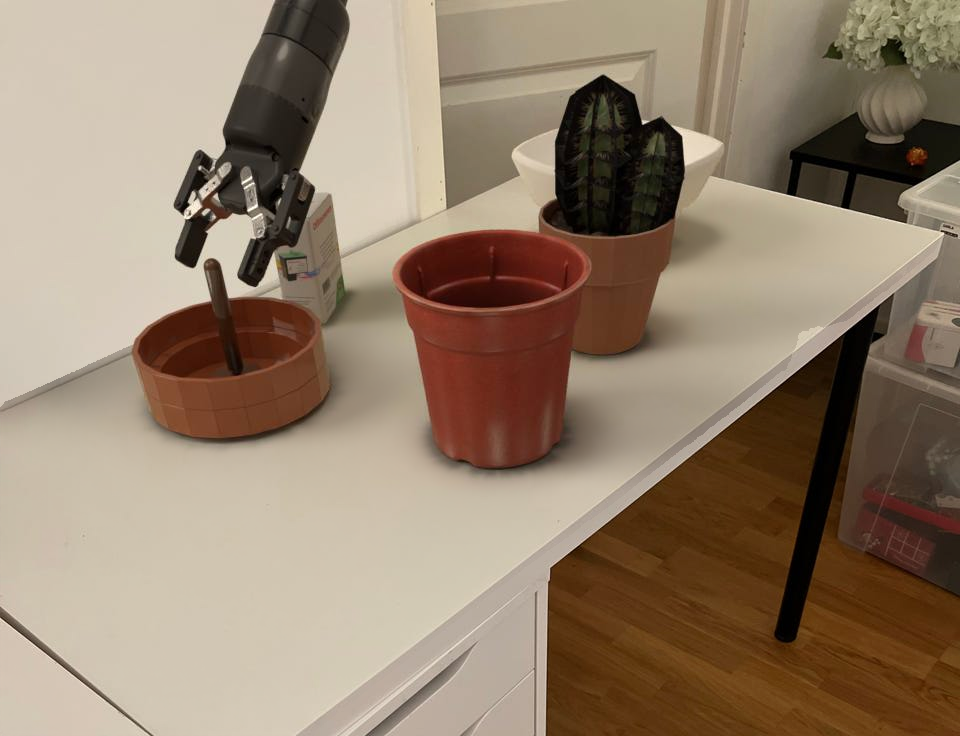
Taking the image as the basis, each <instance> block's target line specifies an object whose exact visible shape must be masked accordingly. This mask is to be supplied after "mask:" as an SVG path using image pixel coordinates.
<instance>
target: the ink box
mask: <svg viewBox="0 0 960 736" xmlns="http://www.w3.org/2000/svg"><path fill="white" fill-rule="evenodd" d="M334 209H335V208H334V202H333V195H332V193H329V192H315V193H314V196H313V199H312V202H311V205H310V208H309V211H308V214H307V216H306V219H305V222H304V225H303V228H302V231H301V234H300V237H299V240H298V243H297V245H296V246H295V247H293V248H290V247H288V246H287V245H286V246H281V247H280V248H279V249H278V250H275V251H274V252H273V255H274V259H275V264H276V270H277V276H278V281H279V285H280V291H281V296H282V300H287V301H292V302H295V303H298V304H300V305H302V306H304V307H306V308H308V309H310V310H312V312H313V313H314V314H315V315H316V316H317V317H318V318H319V319H320V321H321V325H322V324H323V325H324V324H326V323H328V322H327V321H328V320H329V319H330V317H331V316H332V314H333V312H334V311H335V309H336V308H337V307H338V305H339V304H340V302H341V300H342V299H343V297H344V296H345V294H346V287H345V281H344V274H343V266H342V260H341V259H342V258H341V254H340V253H341V252H340V245H339V237H338V231H337V223H336V215H335V210H334ZM290 222H291V218H290V217H289V220H288V223H287V226H286V228H287V229H288V228H289V225H290Z"/></svg>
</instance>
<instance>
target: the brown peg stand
mask: <svg viewBox="0 0 960 736" xmlns="http://www.w3.org/2000/svg"><path fill="white" fill-rule="evenodd" d="M202 268H203V271H204V272H203V273H204V276H205V280H206V284H207V289H208V292H209V296H210V301H212V305H213V310H214V314H215V318H216V322H217V326H218V331H219V335H220V339H221V343H222V347H223V352H224V356H225V360H226V364H227V365H225V366H222V367H220V368H218V369H217V370H216V371H214V372H213V374H212V376H211V379H212V378H221V377H231V376H239V375H242V374H246V373H250V372H254V371H258V370H262V367H261V366H259V365H257V364H255V363H250V362H243V361H242V357H241V352H240V348H239V343H238V339H237V335H236V330H235V326H234V321H233V317H232V312H231V308H230V304H229V299H228V298H229V296H228V291H227V286H226V282H225V277H224V274H223V268H222V265H221V263H220V261H219V260H218V259H216V258H214V257H210V258H207V259H206V260H205V261H204V262H203V267H202Z"/></svg>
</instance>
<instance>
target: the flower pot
mask: <svg viewBox="0 0 960 736" xmlns="http://www.w3.org/2000/svg"><path fill="white" fill-rule="evenodd" d="M590 272H591V261H590V259H589V258H588V256H587V255H586V254H585V253H584V251H582V250H581V249H580V248H579V247H577V246H576V245H574V244H572V243H570V242H568V241H566V240H563V239H560V238H558V237H554V236H551V235H547V234H542V233H539V232H537V231H536V232H535V231H531V230H521V229H505V228H503V229H479V230H469V231H463V232H458V233H453V234H448V235H444V236H441V237H437V238H434V239H431V240H428V241H425V242H422V243H421V244H419V245H416V246H415V247H412V248H411V249H410V250H408V251H407V252H405V253H404V254H402V256H401V257H399V259H398V260H397V261H396V262H395V264H394V266H393V269H392V271H391V278H392V281H393V284H394V286H395V288H396V289H397V291H398V292H399V293H400V294H401V297H402V301H403V307H404V312H405V317H406V321H407V324H408V326H409V328H410V329H411V330H412V333H413V339H414V343H415V344H414V345H415V348H416V354H417V359H418V364H419V368H420V374H421V379H422V384H423V389H424V394H425V398H426V404H427V405H426V406H427V410H428V415H429V420H430V426H431V430H432V436H433V440H434V443H435V445H436V446H437V448H438V450H440V452H442V454H444V455H445V456H446V457H448V458H450V459H451V460H453V461H455V462H457V461H459V460H464V461H466V462H468V463H470V464H472V466H474V467H477V468H483V469H502V468H512V467H518V466H522V465H526V464H529V463H532V462H535V461H537V460H539V459H541V458H543V457H545V456H546V455H548V453H549V452H550V450H551V448H552V447H553V446H554V445H555V444H558V443H559V442H560V440H561V438H562V435H563V428H564V427H563V426H564V419H565V410H566V402H567V393H568V392H567V391H568V383H569V376H570V366H571V359H572V350H573V349H572V343H573V334H574V326H575V323H576V321H577V319H578V317H579V314H580V307H581V298H582V290H583V285H584V284H585V283H586V282H587V280H588V278H589V275H590Z"/></svg>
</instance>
